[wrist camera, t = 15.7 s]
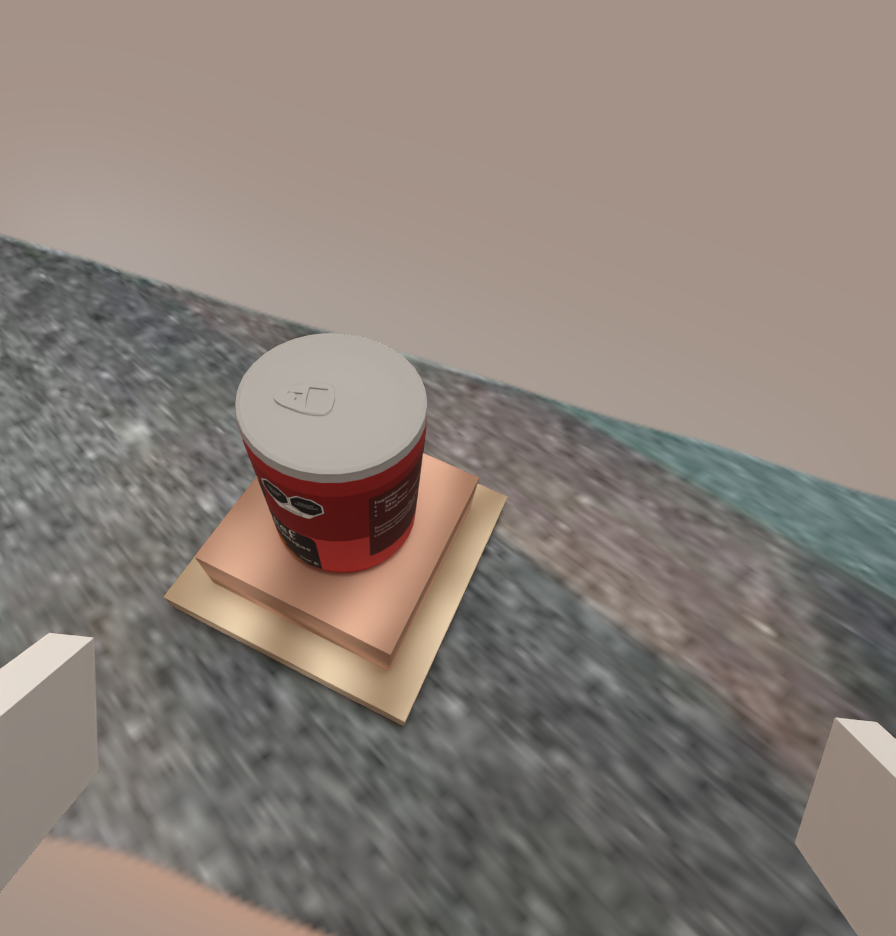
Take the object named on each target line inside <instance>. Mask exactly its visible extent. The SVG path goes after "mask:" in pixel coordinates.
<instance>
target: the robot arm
mask: <svg viewBox="0 0 896 936" xmlns="http://www.w3.org/2000/svg"><path fill="white" fill-rule="evenodd" d="M97 773H98V748H97V718H96V688H95V658H94V638H91V637H82V636H72V635H63V634H54V633H49V634H47V635H46V636H44V637H43V638H42V639H40V640H39V641H38V642H36V643H35V644H34V645H32V646H31V647H30V648H28V649H27V650H25V651H24V652H23V653H21V654H20V655H19V656H17V657H16V658H15V659H13V660H12V661H10V662H9V663H8V664H6V665H5V666H4V667H2V668H1V669H0V892H1V891H2V889H3V888H4V887H5V886H6V884H7V883H8V882H9V881H10V880H11V878H12V877H13V876H14V875H15V873H16V872H17V871H18V870H19V868H20V867H21V866H22V865H23V863H24V862H25V861H26V860H27V858H28V857H29V856H30V855H31V854H32V852H33V851H34V850H35V849H36V848H37V846H38V845H39V844H40V843H41V841H42V840H43V839H44V838H45V837H46V835H47V834H48V833H49V832H50V830H51V829H52V828H53V827H54V825H55V824H56V823H57V822H58V821H59V819H60V818H61V817H62V816H63V814H64V813H65V812H66V811H67V809H68V808H69V807H70V806H71V805H72V803H73V802H74V801H75V800H76V798H77V797H78V796H79V795H80V793H81V792H82V791H83V790H84V789H85V787H86V786H87V785H88V784H89V782H90V781H91V780H92V779H93V777H94V776H95V775H96V774H97ZM795 844H796V846H797V847H798V849H799V850H800V852H801V853H802V855H803V856H804V857H805V859H806V860H807V862H808V863H809V865H810V866H811V868H812V869H813V871H814V872H815V874H816V875H817V877H818V878H819V880H820V881H821V883H822V884H823V885H824V887H825V888H826V890H827V891H828V893H829V894H830V896H831V897H832V899H833V900H834V902H835V903H836V905H837V906H838V908H839V909H840V910H841V912H842V913H843V915H844V916H845V918H846V919H847V921H848V922H849V924H850V925H851V927H852V928H853V930H854V931H855V933H856V934H857V935H858V936H896V739H895V738H894V737H893V736H892V735H891V734H889V733H888V732H887V731H886V730H885V729H884V728H883V727H882V726H881V725H880V724H878V723H877V722H871V721H862V720H852V719H843V718H835V719H834V722H833V725H832V728H831V731H830V735H829V738H828V741H827V744H826V747H825V750H824V753H823V756H822V759H821V763H820V766H819V769H818V772H817V775H816V778H815V781H814V784H813V788H812V791H811V794H810V797H809V800H808V803H807V806H806V809H805V812H804V816H803V819H802V822H801V825H800V828H799V831H798V834H797V837H796V841H795Z"/></svg>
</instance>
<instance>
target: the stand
mask: <svg viewBox="0 0 896 936" xmlns="http://www.w3.org/2000/svg"><path fill="white" fill-rule="evenodd" d="M478 480H479V478H478V477H476V476H474V475H472V474H469V473H467V472H465V471H462V470H460V469H458V468H456V467H453V466H451V465H449V464H447V463H444V462H442V461H440V460H437V459H435V458H433V457H431V456H428V455H426V454H424V453H423V459H422V467H421V474H420V482H419V490H418V498H417V506H416V514H415V519H414V525H413V527H412V530H411V532H410V534H409V536H408V538H407V539H406V541H405V542H404V544H403V545H402V546H401V547H400V548H399V549H398V550H397V551H396V552H395V553H394V554H393V555H392V556H391V557H389V558H388V559H387V560H385V561H383V562H382V563H380V564H379V565H377V566H374V567H372V568H369V569H367V570H362V571H358V572H353V573H336V572H329V571H324V570H322V569H319V568H316V567H313V566H311V565H309V564H307V563H306V562H304V561H302V560H301V559H299V558H297V557H296V556H295V555H294V554H293V553H292V552H291V551H289V550H288V549H287V547H286V546H285V544H284V543H283V542H282V540H281V539H280V536H279V534H278V531H277V529H276V526H275V524H274V521H273V519H272V516H271V513H270V511H269V508H268V505H267V503H266V500H265V497H264V495H263V492H262V490H261V487H260V484H259V482H258V479H257V477H256V478H255V479H254V481H253V482H252V483H251V484H250V486H249V487H248V488H247V490H246V491H245V492H244V493H243V495H242V496H241V497H240V499H239V500H238V501H237V502H236V504H235V505H234V506H233V508H232V509H231V510H230V511H229V513H228V514H227V515H226V517H225V518H224V519H223V520H222V522H221V523H220V524H219V526H218V527H217V528H216V529H215V531H214V532H213V533H212V535H211V536H210V537H209V538H208V540H207V541H206V542H205V544H204V545H203V546H202V548H201V549H200V550H199V551H198V553H197V554H196V555H195V557H194V558H193V559H192V561H191V562H190V563H189V565H188V566H187V567H186V568H185V570H184V571H183V572H182V574H181V575H180V576H179V577H178V579H177V580H176V581H175V583H174V584H173V585H172V586H171V588H170V589H169V590H168V592H167V593H166V594H165V595H164V598H165V599H166V600H167V601H168V602H169V603H170V604H171V605H172V606H173V607H174V608H176V609H178V610H180V611H182V612H184V613H185V614H187V615H189V616H191V617H193V618H195V619H197V620H199V621H201V622H203V623H205V624H207V625H209V626H211V627H212V628H214V629H216V630H218V631H220V632H222V633H224V634H226V635H228V636H230V637H232V638H234V639H236V640H238V641H239V642H241V643H243V644H245V645H247V646H249V647H251V648H253V649H255V650H257V651H259V652H261V653H263V654H265V655H266V656H268V657H270V658H272V659H274V660H276V661H278V662H280V663H282V664H284V665H286V666H288V667H290V668H291V669H293V670H295V671H297V672H299V673H301V674H303V675H305V676H307V677H309V678H311V679H313V680H315V681H317V682H318V683H320V684H322V685H324V686H326V687H328V688H330V689H332V690H334V691H336V692H338V693H340V694H342V695H344V696H345V697H347V698H349V699H351V700H353V701H355V702H357V703H359V704H361V705H363V706H365V707H367V708H369V709H371V710H372V711H374V712H376V713H378V714H380V715H382V716H384V717H386V718H388V719H390V720H392V721H394V722H396V723H398V724H399V725H401V726H403V727H404V725H405V723H406V721H407V718H408V716H409V714H410V712H411V710H412V707H413V705H414V703H415V701H416V699H417V696H418V694H419V692H420V690H421V688H422V685H423V683H424V681H425V679H426V677H427V674H428V672H429V670H430V668H431V666H432V663H433V661H434V659H435V657H436V655H437V652H438V650H439V648H440V646H441V644H442V641H443V639H444V637H445V635H446V633H447V630H448V628H449V626H450V624H451V622H452V619H453V617H454V615H455V613H456V611H457V608H458V606H459V604H460V602H461V600H462V597H463V595H464V593H465V591H466V589H467V586H468V584H469V582H470V580H471V578H472V575H473V573H474V571H475V569H476V567H477V564H478V562H479V560H480V558H481V556H482V553H483V551H484V549H485V547H486V545H487V542H488V540H489V538H490V536H491V534H492V531H493V529H494V527H495V525H496V523H497V520H498V518H499V516H500V514H501V512H502V509H503V507H504V504H505V502H506V499H507V496H505V495H502V494H500V493H498V492H496V491H493V490H491V489H489V488H487V487H484V486H482V485H480V484H478Z"/></svg>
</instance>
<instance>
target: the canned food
mask: <svg viewBox="0 0 896 936" xmlns="http://www.w3.org/2000/svg"><path fill="white" fill-rule="evenodd" d="M235 405H236V414H237V419H238V427H239V430H240V432H241V435H242V438H243V442H244V445H245V447H246V450H247V453H248V455H249V458H250V461H251V463H252V466H253V469H254V471H255V474H256V476H257V479H258V482H259V484H260V487H261V490H262V492H263V495H264V497H265V500H266V503H267V505H268V508H269V511H270V513H271V516H272V519H273V521H274V524H275V526H276V529H277V531H278V534H279V536H280V539H281V540H282V542H283V543H284V544H285V546H286V547H287V549H288V550H289V551H291V552H292V553H293V554H294V555H295V556H296V557H297V558H299V559H301V560H302V561H304V562H306V563H307V564H309V565H311V566H313V567H316V568H319V569H322V570H324V571H329V572H336V573H353V572H358V571H362V570H367V569H369V568H372V567H374V566H377V565H379V564H380V563H382V562H383V561H385V560H387V559H388V558H389V557H391V556H392V555H393V554H394V553H395V552H396V551H397V550H398V549H399V548H400V547H401V546H402V545H403V544H404V542H405V541H406V539H407V538H408V536H409V534H410V532H411V530H412V527H413V525H414V519H415V514H416V506H417V498H418V490H419V482H420V474H421V467H422V459H423V451H424V443H425V435H426V423H427V414H428V413H427V400H426V391H425V388H424V385H423V382H422V379H421V378H420V376H419V374H418V373H417V371H416V370H415V368H414V367H413V366H412V365H411V364H410V363H409V362H408V361H407V360H406V359H405V358H404V357H403V356H402V355H400V354H399V353H398V352H396V351H395V350H393V349H392V348H390V347H388V346H386V345H384V344H382V343H379V342H378V341H375V340H371V339H368V338H365V337H362V336H356V335H349V334H337V333H325V334H316V335H309V336H305V337H301V338H297V339H293V340H291V341H288V342H286V343H283V344H281V345H278V346H277V347H275V348H273V349H272V350H270V351H268V352H267V353H265V354H264V355H263V356H261V357H260V358H259V359H258V360H257V361H256V362H255V363H254V364H252V366H251V367H250V368H249V370H248V371H247V372H246V374H245V375H244V376H243V378H242V381H241V383H240V385H239V388H238V390H237V397H236V403H235Z"/></svg>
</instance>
